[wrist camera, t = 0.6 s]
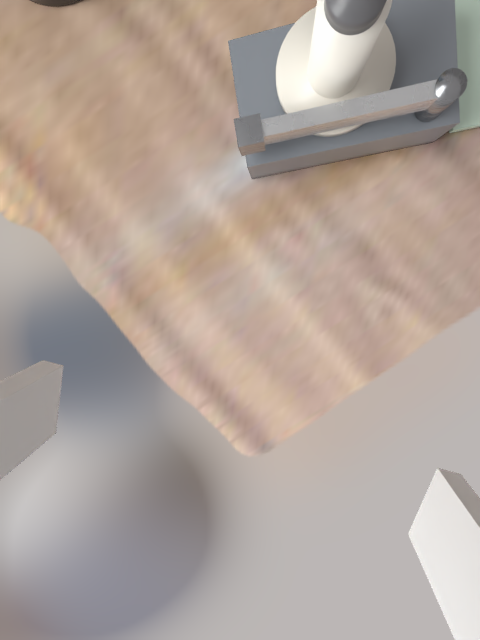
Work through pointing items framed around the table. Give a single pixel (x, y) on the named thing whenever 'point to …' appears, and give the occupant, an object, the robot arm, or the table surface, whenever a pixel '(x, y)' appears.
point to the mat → (468, 61)
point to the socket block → (370, 138)
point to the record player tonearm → (352, 112)
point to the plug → (336, 56)
